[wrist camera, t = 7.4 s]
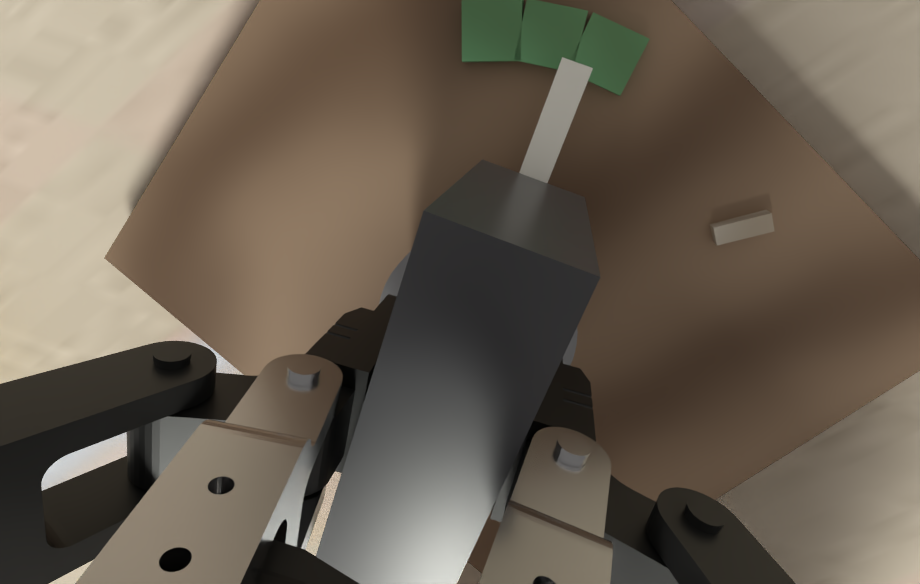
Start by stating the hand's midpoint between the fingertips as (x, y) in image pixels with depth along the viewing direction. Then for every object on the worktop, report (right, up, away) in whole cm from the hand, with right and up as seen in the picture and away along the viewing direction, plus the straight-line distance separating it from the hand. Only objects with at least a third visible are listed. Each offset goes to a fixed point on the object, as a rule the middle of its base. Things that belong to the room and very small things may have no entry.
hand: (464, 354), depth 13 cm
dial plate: (+1, +2, +5) cm, 6 cm away
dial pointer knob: (+1, +2, +3) cm, 4 cm away
